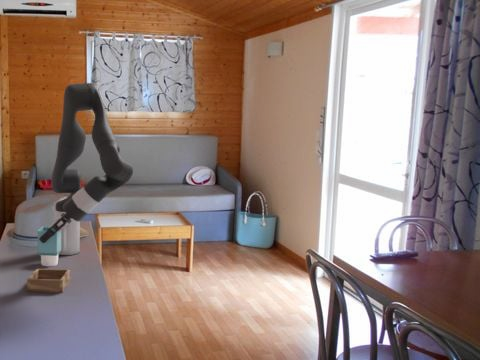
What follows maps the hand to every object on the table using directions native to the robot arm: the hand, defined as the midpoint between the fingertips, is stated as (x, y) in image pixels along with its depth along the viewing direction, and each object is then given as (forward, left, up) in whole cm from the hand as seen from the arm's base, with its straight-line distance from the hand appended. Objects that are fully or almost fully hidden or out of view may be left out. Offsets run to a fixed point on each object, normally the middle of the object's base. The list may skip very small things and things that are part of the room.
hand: (44, 238), depth 187 cm
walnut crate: (0, +2, -16) cm, 16 cm away
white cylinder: (-25, -4, -16) cm, 30 cm away
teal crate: (0, +2, -5) cm, 5 cm away
